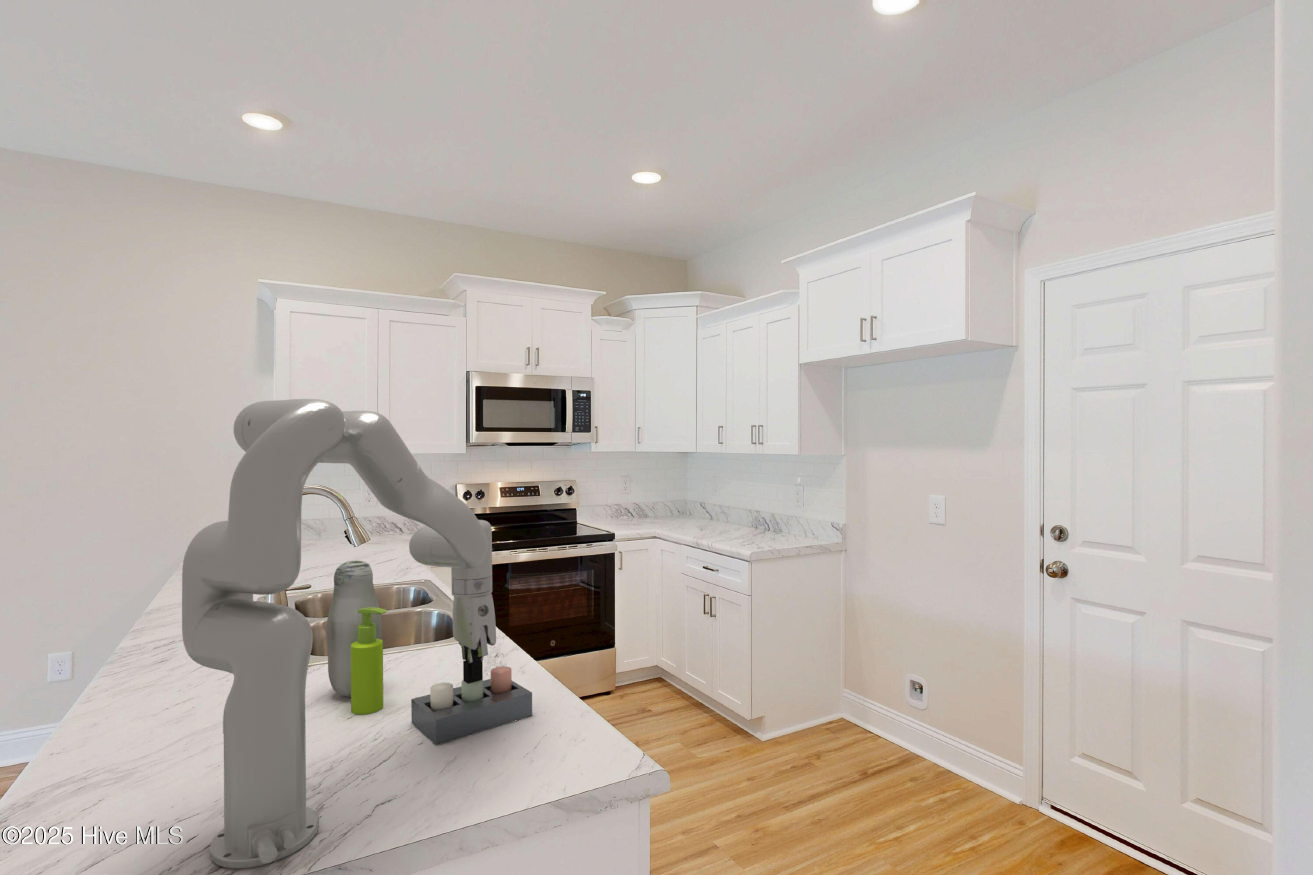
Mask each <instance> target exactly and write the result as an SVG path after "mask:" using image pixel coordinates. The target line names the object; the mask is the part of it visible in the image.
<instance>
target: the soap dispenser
mask: <svg viewBox="0 0 1313 875" xmlns="http://www.w3.org/2000/svg"><path fill="white" fill-rule="evenodd" d="M387 612H388V610H387V609H385V608H381V607H380V608H376V607H368V608H362V609H359V610H358V613H362V624H360V625H359V626H358V641H356V642H354V643H352V644H351V697H350V702H351V703H350V708H351V710H350V711H351V713H352V714H354V715H358V716H359V715H369V714H374V713H376V712H379V711H381V710H382V709H383V708H384V641H383V639H382V640H381V639H376V624H374V623H372V622H371V613H375V614H379V615H381V616H382V615H383V614H386V613H387Z"/></svg>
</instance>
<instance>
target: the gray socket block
mask: <svg viewBox="0 0 1313 875" xmlns="http://www.w3.org/2000/svg"><path fill="white" fill-rule="evenodd" d="M410 703H411V704H410V706H411V710H410V712H411V717H410V718H411V724H412V725H413V726H414V727H415V728H416V729H418V731H419V732H420V733H422V734H423V735H424V736H425V737H426V738H428V740H429V741H431V742H432V743H433V744H434V745H435V746H438V745H442V744H444V743H445V744H446V743H448V742H451V741H455V740H458V739H461V738H465V737H467V736H471V735H474V734H477V733H480V732H484V731H488V730H490V729H493V728H497V727H500V726H503V724H504V725H506V724H509V723H513V721H514V722H516V721H515V720H517V721H520V720H522V719H521V718H523V719H525V718H524V717H527V718H529V717H528V716H530V717H532V716H533V692H532V691H530V690H529V689H527V688H525V687H524V686H522V685H520V684H518V683H517V682H515V681H513V680H512V691H508V692H504V693H501V694H497V695H494V694H493V693H491V678H489V679H483V699H479V700H475V701H472V702H468V703H465V702H463V701H462V691H461V686H458V687H453V707H450V708H446V709H443V710H439V711H435V712H433V711H432V710H431V709H430V694H427V695H426V694H425V695H422V696H418V697H415V698H411V701H410ZM531 715H532V716H531ZM519 719H520V720H519Z"/></svg>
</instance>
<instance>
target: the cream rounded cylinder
mask: <svg viewBox="0 0 1313 875" xmlns="http://www.w3.org/2000/svg"><path fill="white" fill-rule="evenodd" d="M453 688H454V684H453V683H452V682H438V683H434V684H432V685H431V686H430V689H429V690H430V692H429V693H430V709H431V710H432V711H433V712H435V711H439V710H443V709H446V708H450V707H453Z"/></svg>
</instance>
